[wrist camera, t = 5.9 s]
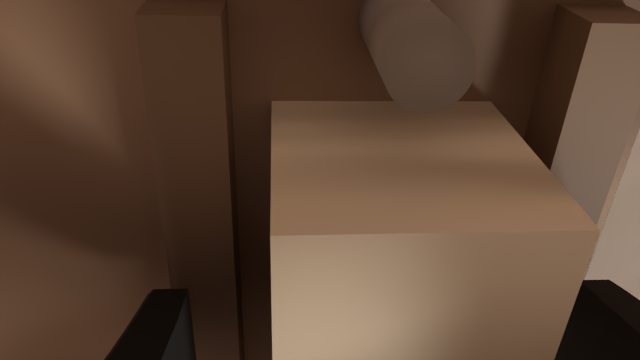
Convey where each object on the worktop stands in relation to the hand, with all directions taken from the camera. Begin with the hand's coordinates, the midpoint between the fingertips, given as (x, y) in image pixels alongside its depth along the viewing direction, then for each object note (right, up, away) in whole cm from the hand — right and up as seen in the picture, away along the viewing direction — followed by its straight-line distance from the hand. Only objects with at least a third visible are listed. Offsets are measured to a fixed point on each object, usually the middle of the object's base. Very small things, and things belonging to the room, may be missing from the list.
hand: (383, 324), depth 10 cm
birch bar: (0, +1, +2) cm, 2 cm away
